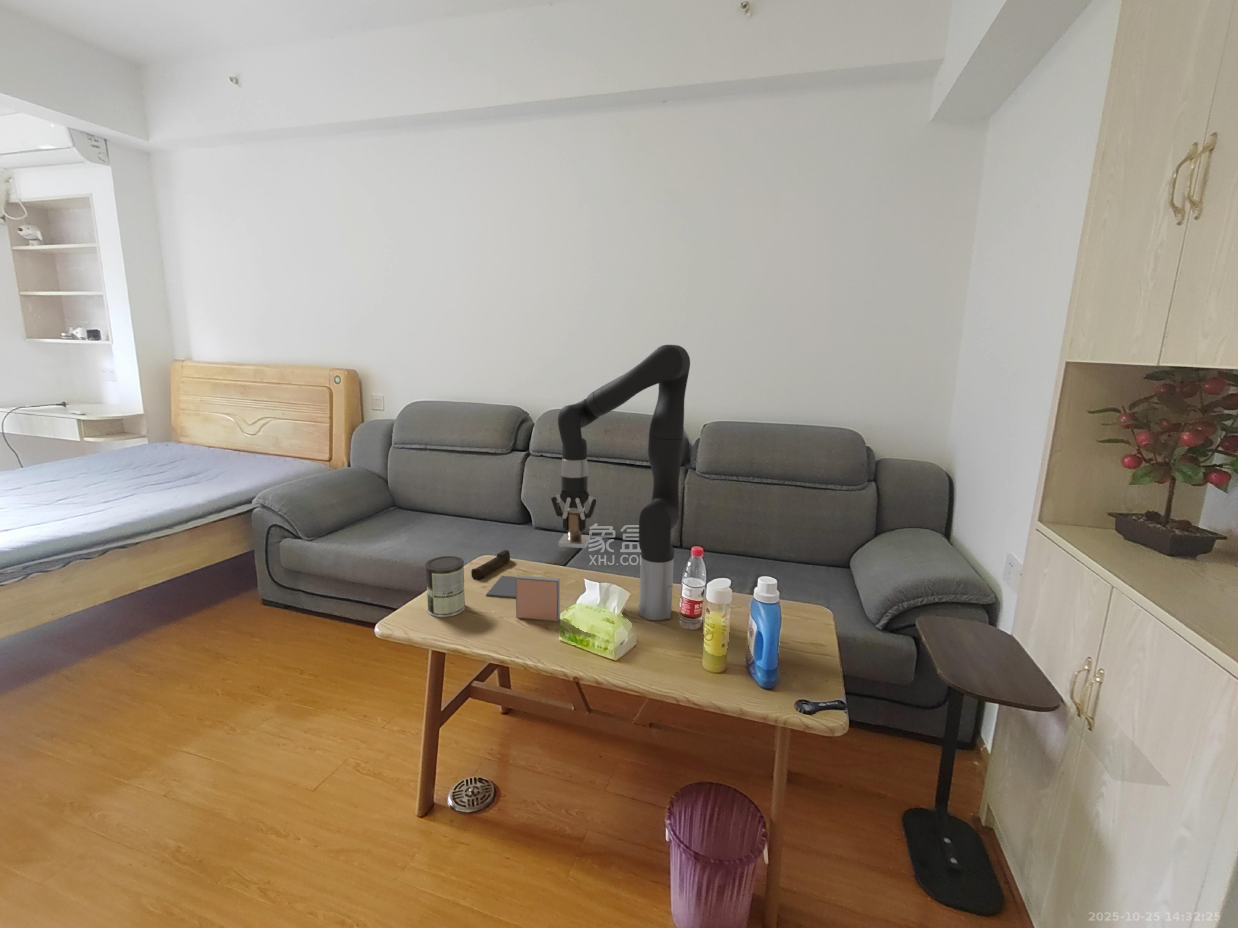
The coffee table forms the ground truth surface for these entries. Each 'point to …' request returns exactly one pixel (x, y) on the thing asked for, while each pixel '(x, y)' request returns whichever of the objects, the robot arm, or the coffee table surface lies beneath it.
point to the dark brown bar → (491, 565)
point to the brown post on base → (574, 533)
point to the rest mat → (504, 587)
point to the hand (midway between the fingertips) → (574, 530)
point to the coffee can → (445, 586)
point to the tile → (538, 598)
